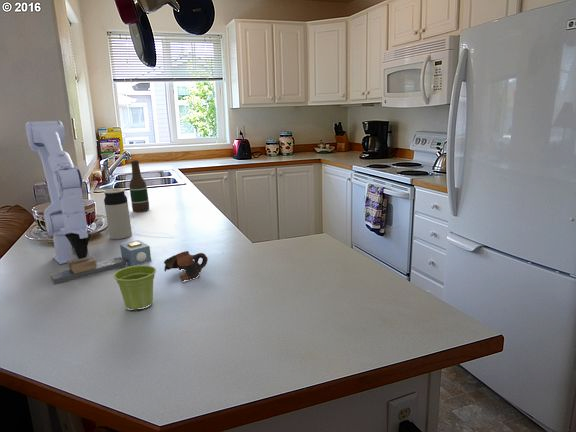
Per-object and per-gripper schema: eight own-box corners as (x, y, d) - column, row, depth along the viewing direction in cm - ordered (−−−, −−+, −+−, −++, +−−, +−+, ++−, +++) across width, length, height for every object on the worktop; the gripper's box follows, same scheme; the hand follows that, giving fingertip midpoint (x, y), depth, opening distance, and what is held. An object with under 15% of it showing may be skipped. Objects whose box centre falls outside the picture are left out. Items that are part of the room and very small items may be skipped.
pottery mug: (172, 288, 112) (160, 260, 113) (173, 290, 121) (161, 264, 122) (214, 269, 116) (201, 242, 117) (211, 272, 125) (200, 247, 126)
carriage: (69, 268, 124) (65, 247, 122) (90, 262, 127) (87, 242, 126) (74, 273, 119) (70, 251, 118) (96, 267, 123) (93, 246, 121)
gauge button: (129, 254, 133) (127, 243, 132) (138, 252, 135) (137, 241, 134) (132, 256, 131) (131, 245, 130) (142, 254, 133) (140, 243, 132)
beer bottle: (131, 209, 205) (125, 160, 199) (148, 207, 208) (142, 159, 202) (133, 213, 198) (126, 162, 192) (150, 210, 201) (144, 160, 195)
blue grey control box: (122, 259, 135) (119, 244, 134) (140, 254, 139) (138, 240, 138) (132, 266, 128) (130, 250, 127) (151, 261, 132) (149, 246, 131)
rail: (50, 279, 121) (49, 274, 120) (121, 261, 133) (120, 256, 133) (54, 284, 117) (53, 279, 116) (126, 265, 129) (126, 260, 129)
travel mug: (117, 241, 155) (110, 192, 150) (105, 237, 160) (98, 191, 155) (136, 235, 161) (130, 189, 157) (124, 232, 166) (118, 187, 161)
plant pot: (145, 294, 108) (141, 262, 106) (167, 303, 102) (163, 270, 100) (111, 308, 101) (105, 274, 99) (132, 319, 95) (127, 283, 93)
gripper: (52, 210, 122) (60, 254, 126) (64, 218, 111) (73, 266, 115) (78, 206, 127) (85, 248, 130) (92, 213, 116) (100, 260, 119)
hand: (81, 257), depth 123 cm, fingers closed on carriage, 2 cm apart
